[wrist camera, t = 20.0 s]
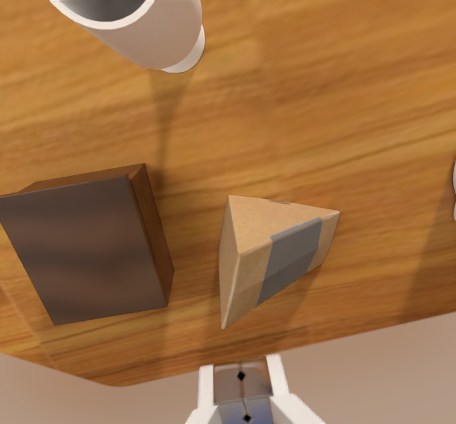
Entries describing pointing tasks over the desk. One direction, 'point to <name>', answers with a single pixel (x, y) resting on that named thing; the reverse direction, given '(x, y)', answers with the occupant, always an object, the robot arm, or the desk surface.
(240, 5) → the desk surface
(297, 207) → the sandwich container
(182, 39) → the champagne flute
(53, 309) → the chest lid
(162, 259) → the chest
